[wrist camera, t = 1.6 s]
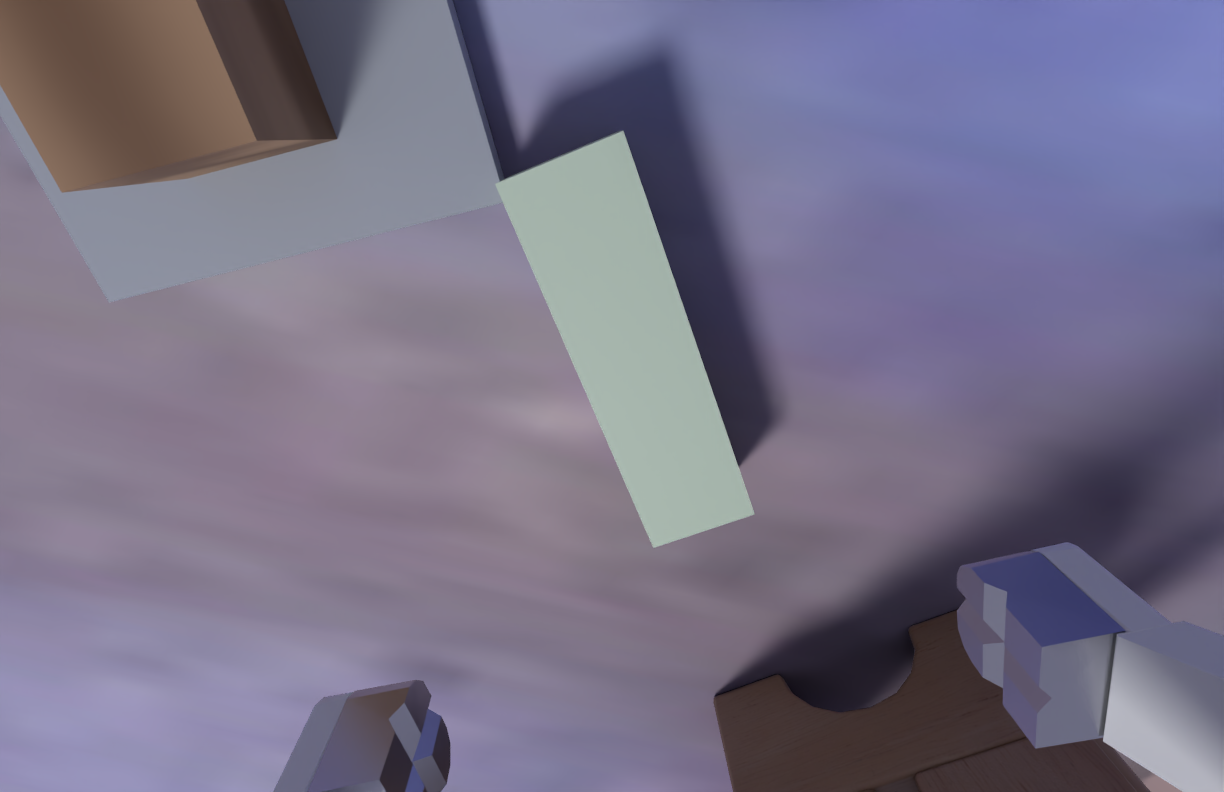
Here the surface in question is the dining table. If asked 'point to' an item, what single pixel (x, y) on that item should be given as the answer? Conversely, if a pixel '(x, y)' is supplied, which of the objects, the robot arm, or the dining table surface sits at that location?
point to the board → (307, 159)
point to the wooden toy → (906, 736)
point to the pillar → (157, 86)
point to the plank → (628, 335)
